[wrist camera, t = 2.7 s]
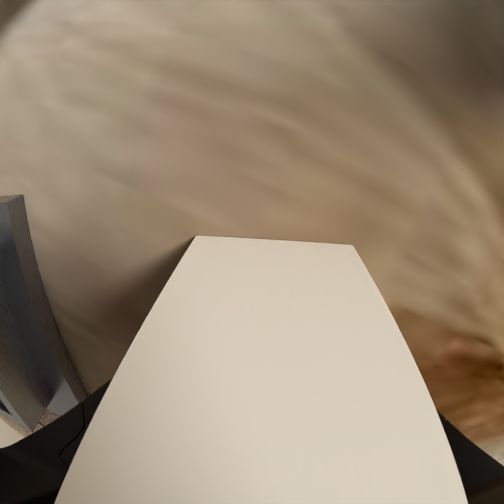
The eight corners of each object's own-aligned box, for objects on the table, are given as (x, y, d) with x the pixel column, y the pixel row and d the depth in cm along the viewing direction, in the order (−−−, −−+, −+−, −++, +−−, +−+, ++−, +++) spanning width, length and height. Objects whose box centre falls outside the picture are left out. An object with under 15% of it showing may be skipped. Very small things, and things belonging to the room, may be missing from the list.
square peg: (327, 359, 11) (352, 581, 3) (203, 351, 12) (147, 571, 3) (352, 245, 9) (478, 549, 1) (195, 235, 9) (40, 538, 1)
